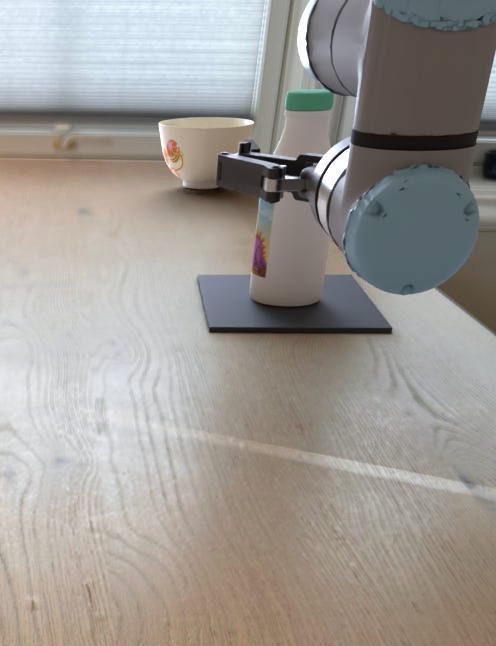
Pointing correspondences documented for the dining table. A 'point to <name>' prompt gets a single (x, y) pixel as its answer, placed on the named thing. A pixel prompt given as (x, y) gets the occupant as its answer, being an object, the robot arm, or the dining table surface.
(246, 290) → the placemat
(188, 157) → the bowl
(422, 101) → the robot arm
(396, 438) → the dining table surface
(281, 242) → the milk bottle
